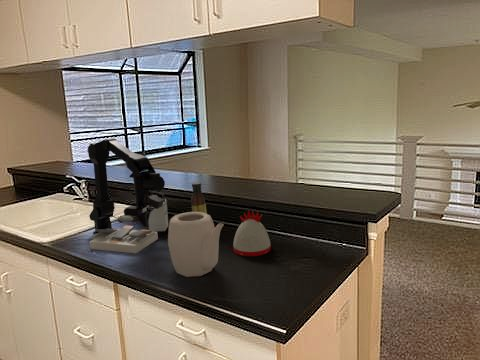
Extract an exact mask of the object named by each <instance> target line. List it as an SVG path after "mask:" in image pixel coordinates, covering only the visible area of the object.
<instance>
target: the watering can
mask: <svg viewBox="0 0 480 360" xmlns="http://www.w3.org/2000/svg"><path fill="white" fill-rule="evenodd" d="M223 227H224V223H223V222H222V223H221V222H219V223H218V224H217V225H216V226H215V224H214V221H213V218H212V217H211V215H210V214H208V213H207V214H206V213H203V212H192V211H189V212H188V211H187V212H183V213H178V214H174V216H172V217H171V218H170V219H169V222H168V234H167V237H168V238H167V245H168V250H169V253H170V259H171V263H172V265H173V267H174V269H175V272H176V273H177V274H179V275H181V276H184V277H187V278H190V277H191V278H192V277H202V276H204V275H206V274H208V273H209V272H212V271H213V268H215V266H216V265H217V264H218V262H219V250H220V248H219V245H220V244H219V243H220V235H221V231H222V229H223Z"/></svg>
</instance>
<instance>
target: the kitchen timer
mask: <svg viewBox="0 0 480 360" xmlns="http://www.w3.org/2000/svg"><path fill="white" fill-rule="evenodd" d="M243 216H244V218H243ZM243 216H239V218H240V220H241V223H240V225H239V226H238V228H237V229H236V232H235V235H234V238H233V243H232V245H233V248H232V249H233V252H234V253H235V254H237V255H240V256H243V257H257V256H263V255H265V254H267V253H269V252H270V251H271V249H272V248H271V247H272V246H271V240H270V237H269V234H268V230H267V229H266V228H265V226H264V225H263V224H262V223H261V222H260V220H261V219H262V216H263V214H262V213H261V214H260V216H259V210H257V211H256V214H255V213H254V210H251V212H250V210H247V214H246V213H245V212H244V213H243Z"/></svg>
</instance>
